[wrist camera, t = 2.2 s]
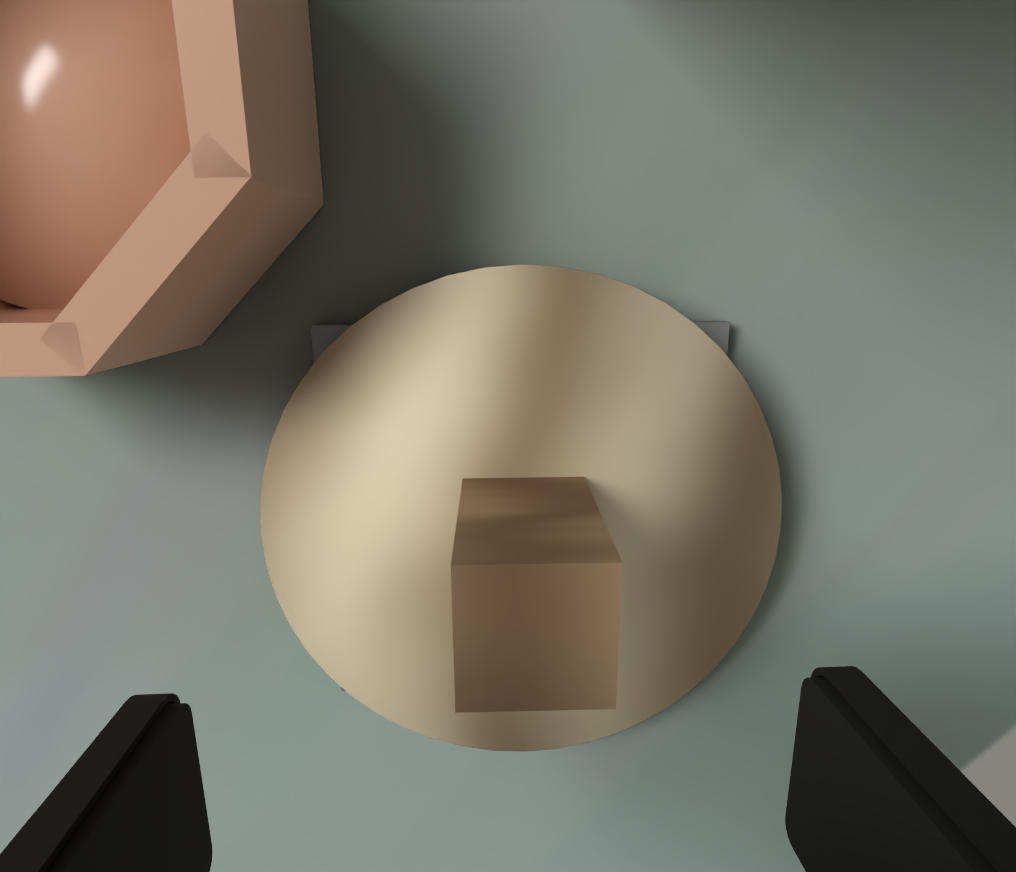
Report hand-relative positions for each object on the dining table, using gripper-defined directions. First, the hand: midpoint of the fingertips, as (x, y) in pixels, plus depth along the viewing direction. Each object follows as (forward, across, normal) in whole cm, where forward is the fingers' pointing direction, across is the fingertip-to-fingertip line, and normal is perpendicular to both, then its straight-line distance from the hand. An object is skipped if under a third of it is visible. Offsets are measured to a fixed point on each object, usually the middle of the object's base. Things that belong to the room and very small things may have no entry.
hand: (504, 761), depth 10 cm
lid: (+9, -1, 0) cm, 9 cm away
